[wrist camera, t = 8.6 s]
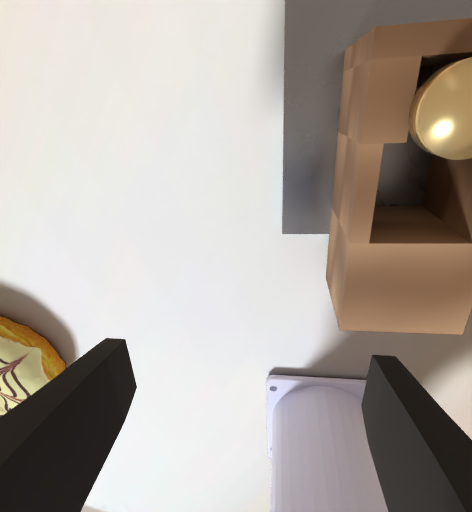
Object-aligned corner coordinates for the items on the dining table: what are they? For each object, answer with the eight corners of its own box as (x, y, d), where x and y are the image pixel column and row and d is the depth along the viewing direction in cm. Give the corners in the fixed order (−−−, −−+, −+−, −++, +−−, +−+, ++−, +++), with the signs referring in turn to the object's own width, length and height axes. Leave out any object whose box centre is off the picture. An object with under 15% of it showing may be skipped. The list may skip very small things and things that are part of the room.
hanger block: (418, 278, 17) (462, 334, 13) (325, 277, 18) (339, 330, 14) (475, 39, 12) (573, 8, 8) (344, 49, 13) (375, 26, 9)
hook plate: (476, 228, 16) (583, 298, 10) (282, 229, 18) (284, 292, 12) (574, -92, 11) (899, -302, 5) (285, -55, 12) (291, -191, 7)
